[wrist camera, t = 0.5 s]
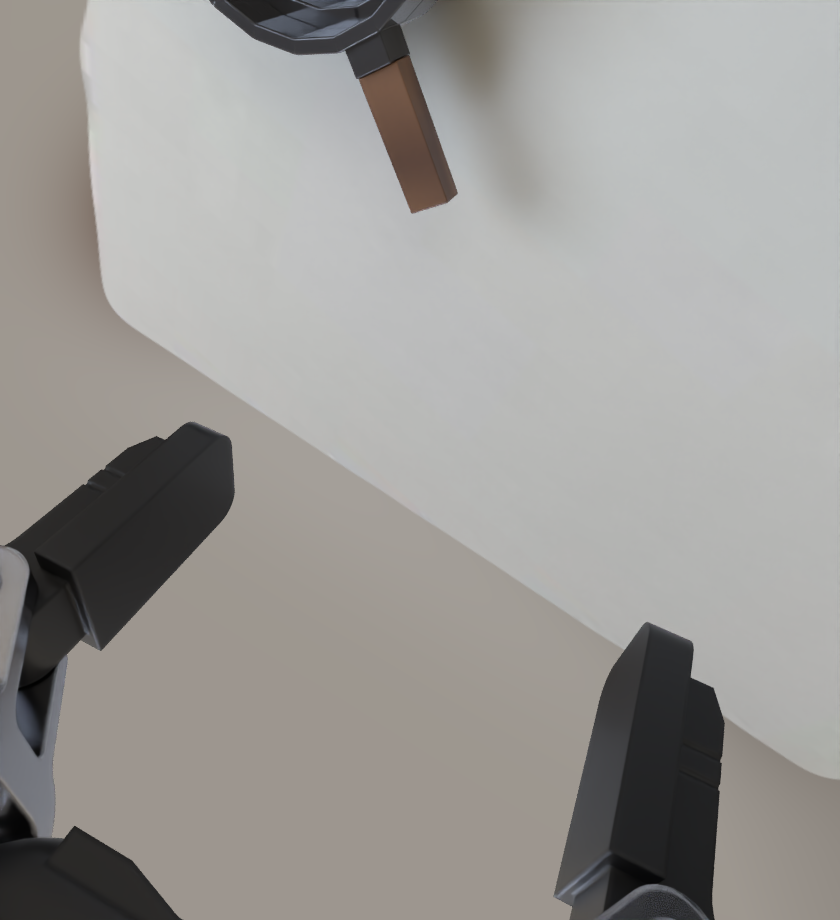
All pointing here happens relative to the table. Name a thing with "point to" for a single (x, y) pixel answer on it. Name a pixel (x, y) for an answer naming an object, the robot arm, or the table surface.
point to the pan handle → (403, 118)
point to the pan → (319, 21)
